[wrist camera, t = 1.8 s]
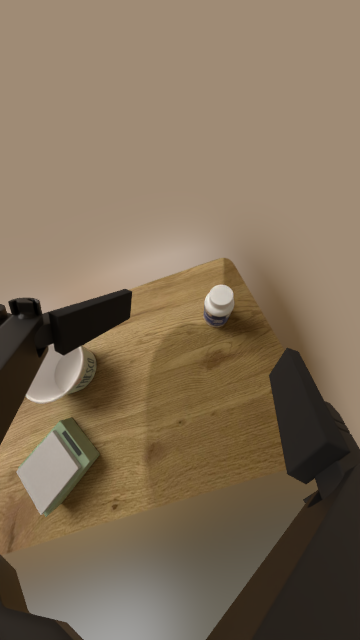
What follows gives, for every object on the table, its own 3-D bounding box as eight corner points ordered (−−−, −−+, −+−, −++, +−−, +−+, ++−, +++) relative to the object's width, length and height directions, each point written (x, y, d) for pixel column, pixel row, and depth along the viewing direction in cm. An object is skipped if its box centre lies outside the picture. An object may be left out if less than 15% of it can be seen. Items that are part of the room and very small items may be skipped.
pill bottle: (199, 320, 36) (199, 300, 27) (210, 302, 38) (214, 276, 29) (221, 332, 35) (229, 314, 26) (232, 312, 36) (243, 288, 27)
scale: (100, 454, 29) (86, 463, 26) (61, 503, 27) (40, 521, 24) (71, 417, 32) (56, 421, 29) (34, 460, 30) (12, 470, 27)
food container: (57, 343, 38) (30, 336, 32) (106, 341, 37) (88, 332, 31) (43, 400, 34) (9, 404, 28) (98, 399, 33) (75, 403, 27)
